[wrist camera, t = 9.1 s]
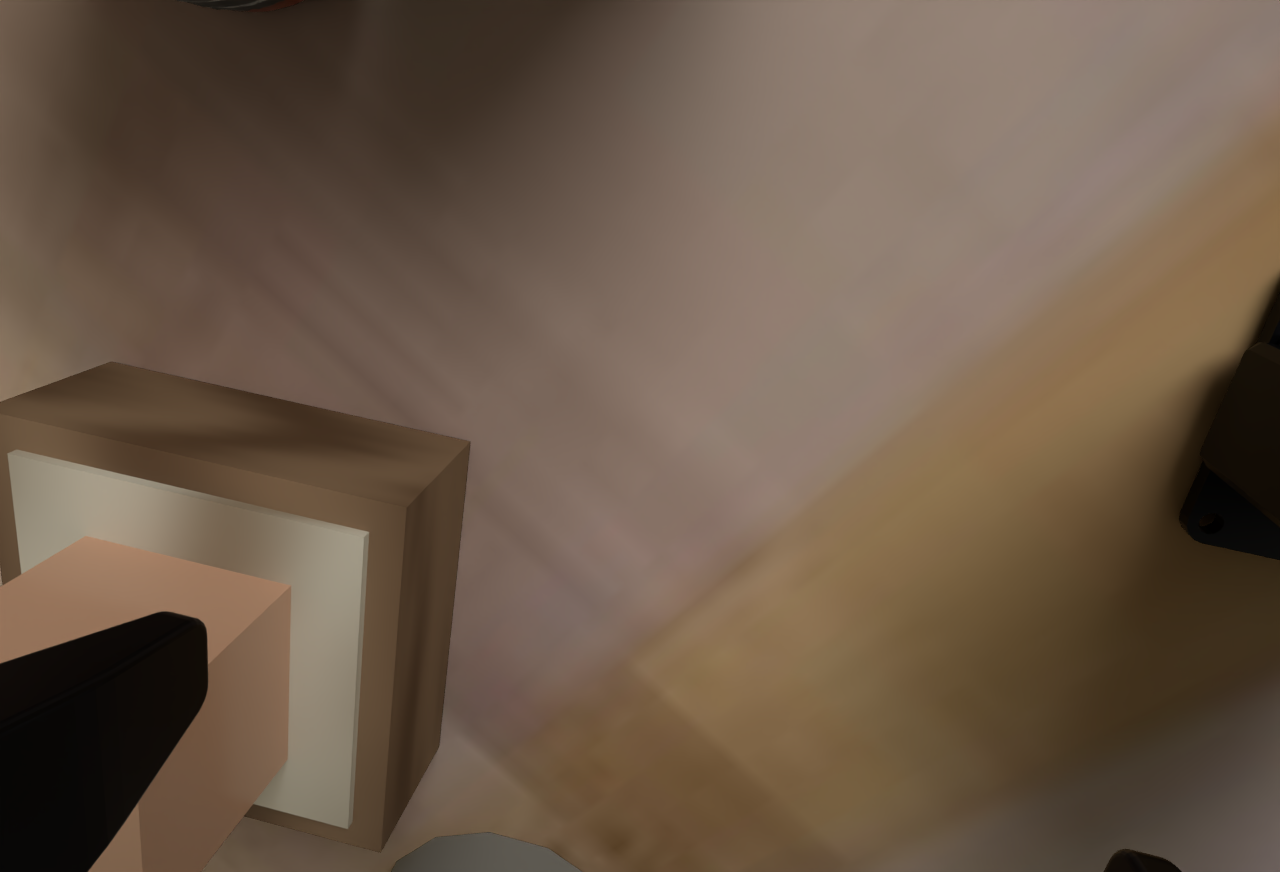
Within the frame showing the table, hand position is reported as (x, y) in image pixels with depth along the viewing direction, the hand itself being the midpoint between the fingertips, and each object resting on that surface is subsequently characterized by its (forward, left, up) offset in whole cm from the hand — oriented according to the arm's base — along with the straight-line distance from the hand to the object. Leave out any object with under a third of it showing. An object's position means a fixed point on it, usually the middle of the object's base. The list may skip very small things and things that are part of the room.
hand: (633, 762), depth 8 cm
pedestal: (+11, +8, -13) cm, 19 cm away
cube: (+11, +8, -9) cm, 16 cm away
